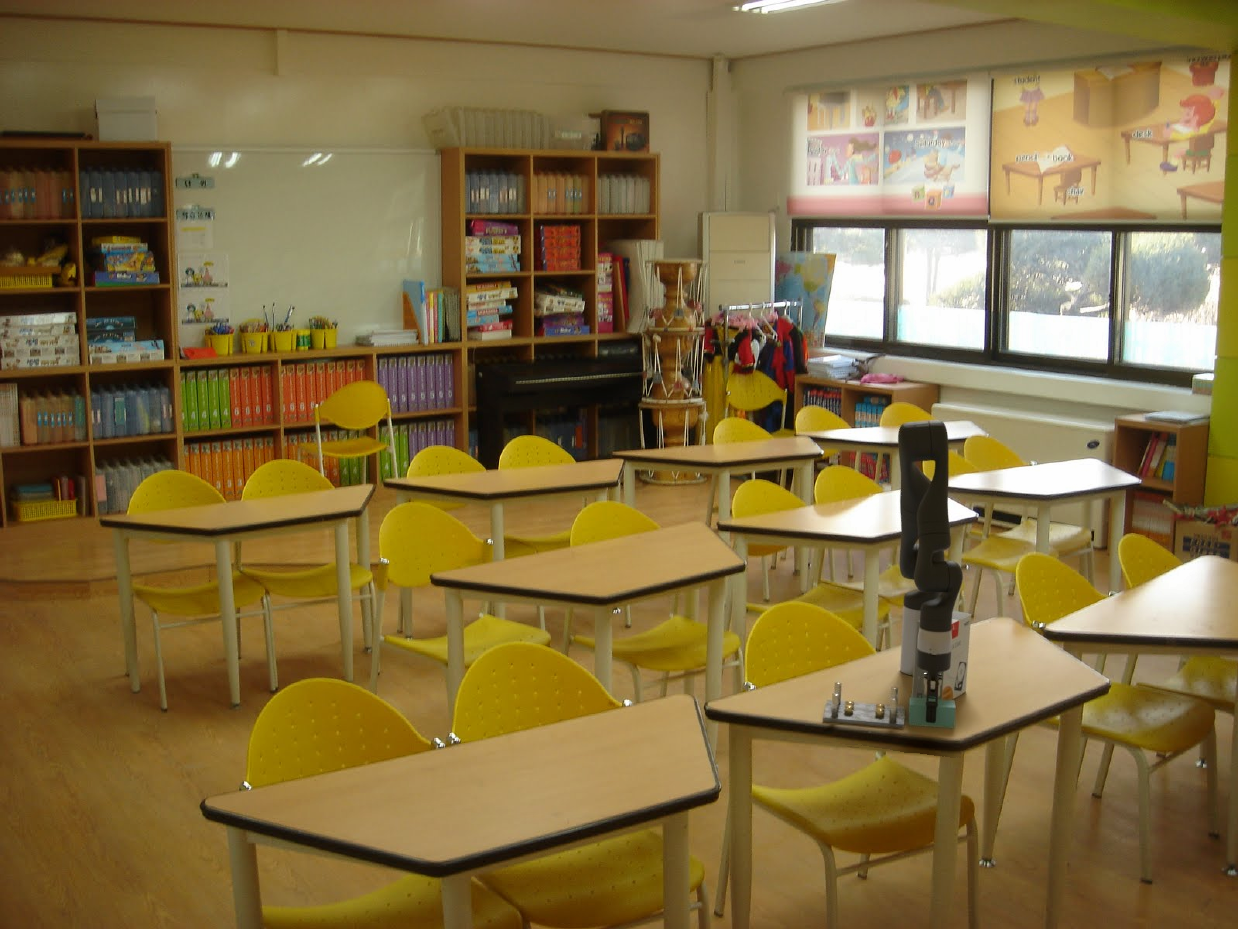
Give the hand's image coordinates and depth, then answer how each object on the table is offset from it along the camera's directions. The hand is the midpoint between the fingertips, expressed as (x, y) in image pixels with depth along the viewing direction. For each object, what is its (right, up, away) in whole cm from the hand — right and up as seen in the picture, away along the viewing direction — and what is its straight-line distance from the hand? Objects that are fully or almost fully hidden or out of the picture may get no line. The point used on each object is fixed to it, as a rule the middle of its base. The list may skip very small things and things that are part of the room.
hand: (930, 716), depth 298 cm
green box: (0, -2, 0) cm, 2 cm away
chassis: (-14, -1, +4) cm, 15 cm away
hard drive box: (+6, +1, +17) cm, 18 cm away
